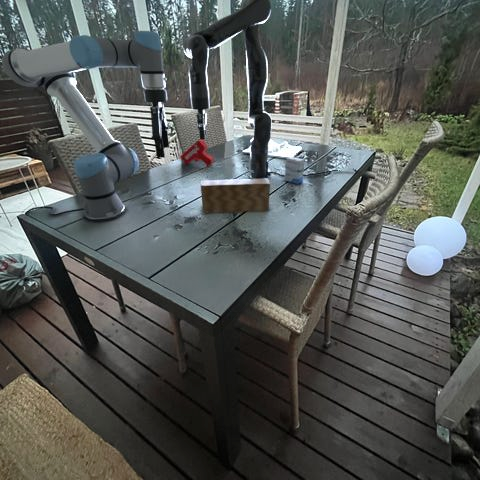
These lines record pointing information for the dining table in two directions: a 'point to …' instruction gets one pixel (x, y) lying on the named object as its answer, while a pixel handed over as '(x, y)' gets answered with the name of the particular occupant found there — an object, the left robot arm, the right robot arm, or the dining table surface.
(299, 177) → the ink box
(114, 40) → the left robot arm
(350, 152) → the dining table surface
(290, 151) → the relief map
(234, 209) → the box
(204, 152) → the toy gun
